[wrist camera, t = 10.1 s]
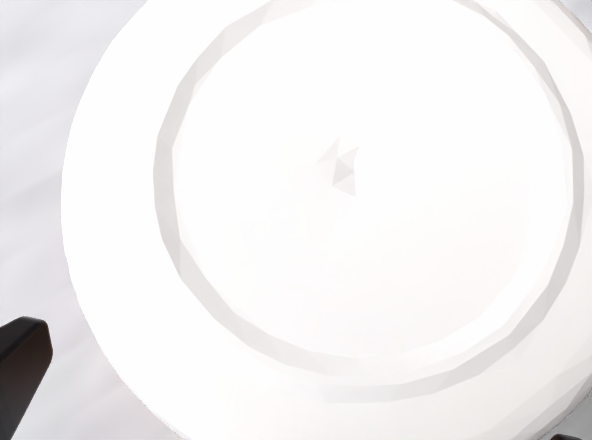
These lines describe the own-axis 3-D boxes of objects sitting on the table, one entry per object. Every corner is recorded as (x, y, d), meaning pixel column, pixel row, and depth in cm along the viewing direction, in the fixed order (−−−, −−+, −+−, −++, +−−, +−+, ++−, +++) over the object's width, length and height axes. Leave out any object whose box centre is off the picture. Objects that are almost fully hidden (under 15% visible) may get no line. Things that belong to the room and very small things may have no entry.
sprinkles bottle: (225, 267, 17) (-66, 69, 4) (338, 199, 17) (438, -199, 4) (295, 387, 16) (240, 683, 3) (412, 312, 16) (839, 268, 3)
